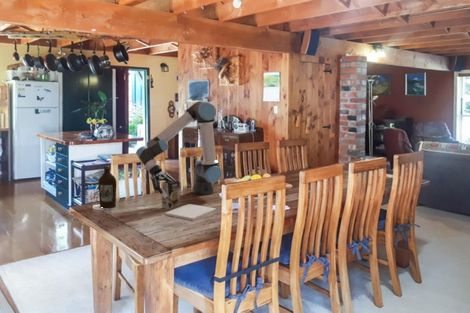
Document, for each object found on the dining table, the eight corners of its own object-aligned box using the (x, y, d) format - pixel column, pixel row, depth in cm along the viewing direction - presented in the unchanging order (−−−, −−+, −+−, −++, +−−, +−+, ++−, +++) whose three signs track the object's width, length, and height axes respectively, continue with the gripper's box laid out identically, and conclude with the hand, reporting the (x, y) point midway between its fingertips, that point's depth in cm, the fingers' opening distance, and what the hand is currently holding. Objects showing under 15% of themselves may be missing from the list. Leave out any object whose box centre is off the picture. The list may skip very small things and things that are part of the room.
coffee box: (169, 209, 256) (169, 183, 254) (162, 207, 260) (161, 182, 258) (180, 206, 263) (180, 181, 261) (172, 204, 267) (172, 179, 265)
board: (188, 205, 266) (188, 203, 266) (216, 210, 257) (216, 208, 256) (164, 214, 245) (164, 212, 245) (193, 220, 236) (193, 218, 236)
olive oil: (100, 204, 265) (99, 165, 261) (118, 204, 266) (117, 164, 262) (97, 209, 254) (96, 168, 251) (115, 208, 256) (114, 167, 252)
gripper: (163, 169, 277) (181, 194, 272) (136, 175, 255) (156, 202, 250) (169, 161, 274) (188, 187, 269) (143, 167, 252) (163, 195, 247)
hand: (173, 195), depth 260 cm, fingers open, 13 cm apart
